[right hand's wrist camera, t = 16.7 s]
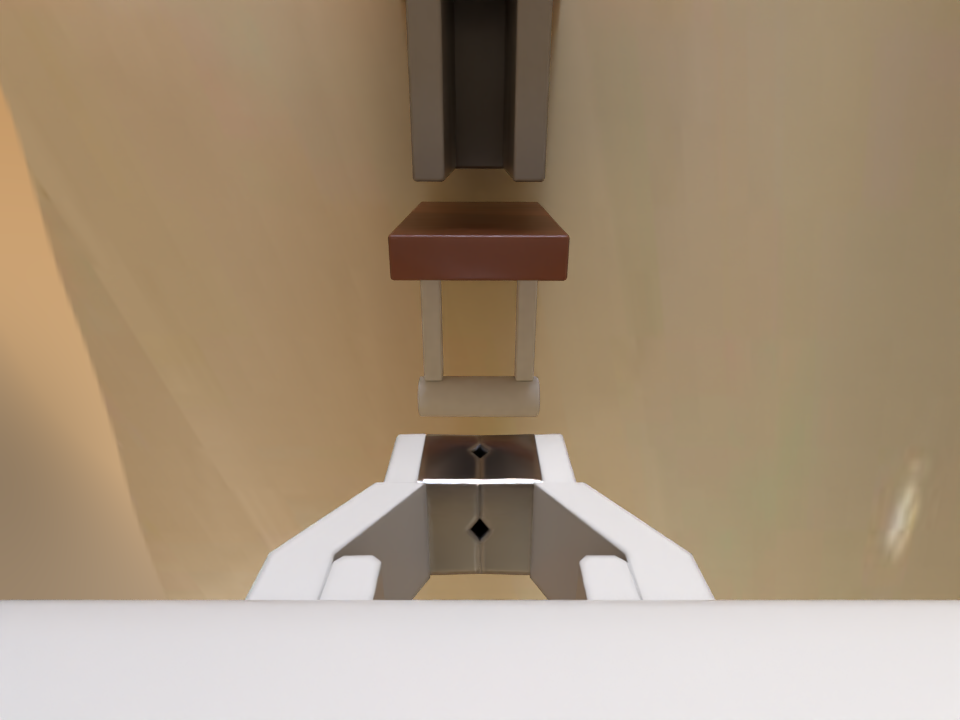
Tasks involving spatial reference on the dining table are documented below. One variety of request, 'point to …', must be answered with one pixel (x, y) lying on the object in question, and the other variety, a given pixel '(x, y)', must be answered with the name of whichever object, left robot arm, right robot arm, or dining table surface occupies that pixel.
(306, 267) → the dining table surface
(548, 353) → the dining table surface
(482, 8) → the drawer
